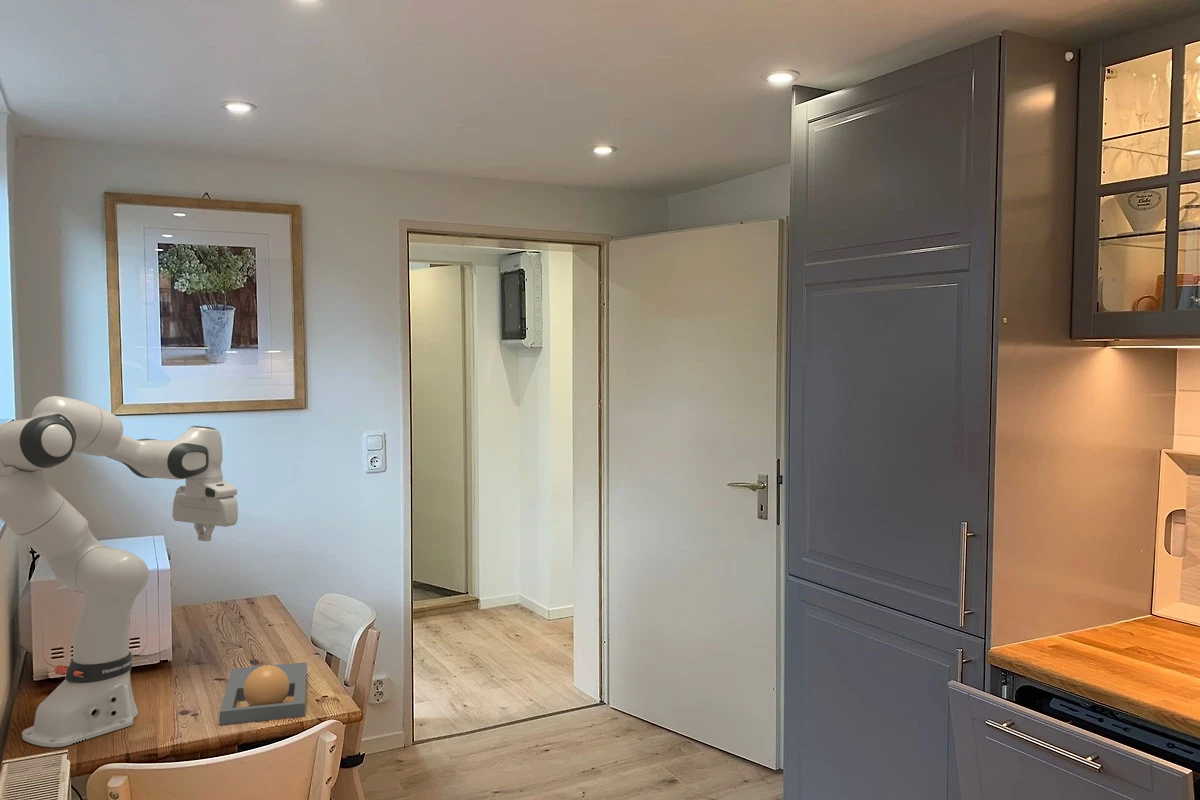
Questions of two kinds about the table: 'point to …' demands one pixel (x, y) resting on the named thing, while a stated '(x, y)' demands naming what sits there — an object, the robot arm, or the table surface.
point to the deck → (264, 712)
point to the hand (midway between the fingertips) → (204, 540)
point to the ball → (266, 686)
